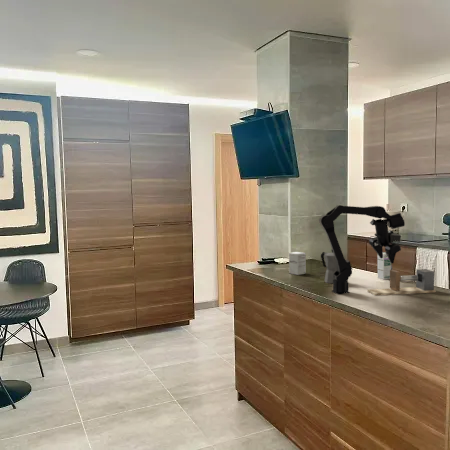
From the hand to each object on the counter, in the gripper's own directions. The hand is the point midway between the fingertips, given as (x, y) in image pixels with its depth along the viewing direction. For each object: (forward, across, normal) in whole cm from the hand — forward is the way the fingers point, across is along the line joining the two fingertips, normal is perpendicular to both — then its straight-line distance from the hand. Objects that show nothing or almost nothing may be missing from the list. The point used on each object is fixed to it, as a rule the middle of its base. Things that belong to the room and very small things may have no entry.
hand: (386, 260), depth 220 cm
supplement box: (+15, +52, +30) cm, 62 cm away
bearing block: (+17, -9, -12) cm, 22 cm away
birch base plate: (+14, -8, 0) cm, 16 cm away
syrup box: (+22, +23, -10) cm, 33 cm away
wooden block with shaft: (+13, -8, -3) cm, 16 cm away
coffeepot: (+14, +25, +20) cm, 35 cm away
